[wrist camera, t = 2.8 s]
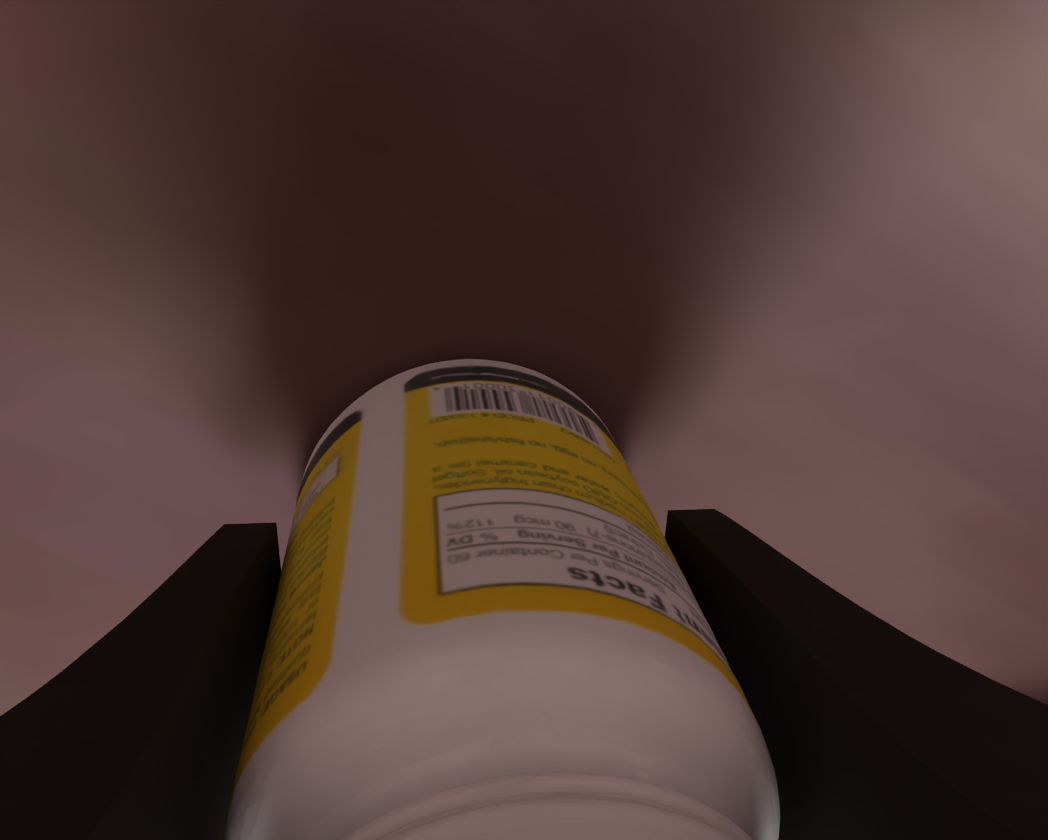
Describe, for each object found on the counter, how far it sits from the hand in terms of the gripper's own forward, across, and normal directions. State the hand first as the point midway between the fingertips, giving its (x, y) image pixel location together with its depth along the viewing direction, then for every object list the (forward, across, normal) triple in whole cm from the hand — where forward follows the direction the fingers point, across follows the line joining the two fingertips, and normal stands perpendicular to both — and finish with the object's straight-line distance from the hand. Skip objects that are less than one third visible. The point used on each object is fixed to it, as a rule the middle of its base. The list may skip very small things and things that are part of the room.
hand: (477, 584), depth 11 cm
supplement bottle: (+2, 0, 0) cm, 2 cm away
